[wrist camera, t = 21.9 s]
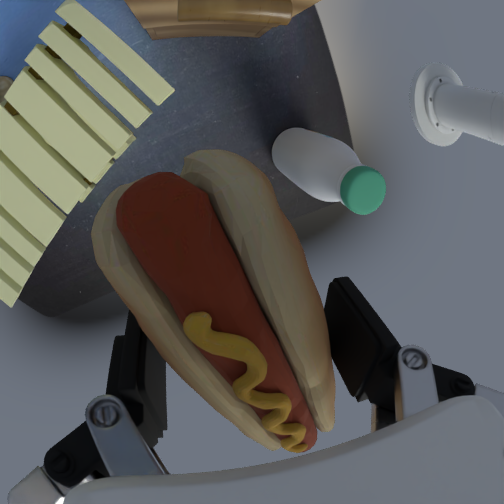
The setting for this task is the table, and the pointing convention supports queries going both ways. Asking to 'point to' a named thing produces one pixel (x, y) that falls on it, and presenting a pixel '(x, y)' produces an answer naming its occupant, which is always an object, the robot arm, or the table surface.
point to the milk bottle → (328, 170)
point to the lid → (216, 11)
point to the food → (224, 294)
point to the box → (207, 30)
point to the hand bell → (4, 86)
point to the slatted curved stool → (62, 133)
